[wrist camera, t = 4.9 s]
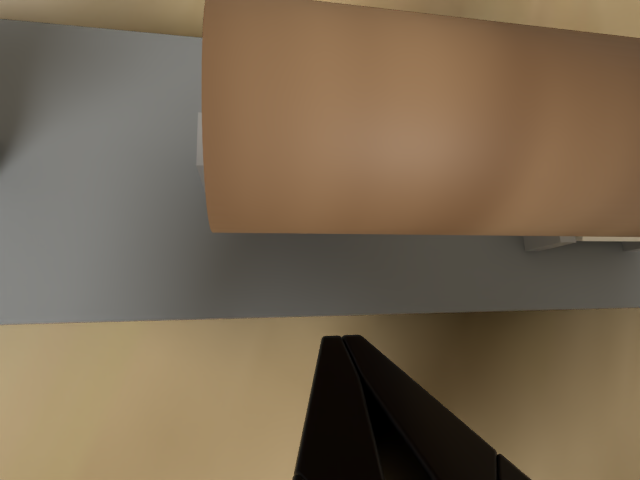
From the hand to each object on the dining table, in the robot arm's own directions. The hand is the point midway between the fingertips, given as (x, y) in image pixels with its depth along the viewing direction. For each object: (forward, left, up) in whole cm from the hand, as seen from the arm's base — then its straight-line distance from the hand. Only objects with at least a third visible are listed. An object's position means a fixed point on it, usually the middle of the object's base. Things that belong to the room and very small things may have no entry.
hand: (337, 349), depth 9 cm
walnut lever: (+4, -4, -4) cm, 7 cm away
